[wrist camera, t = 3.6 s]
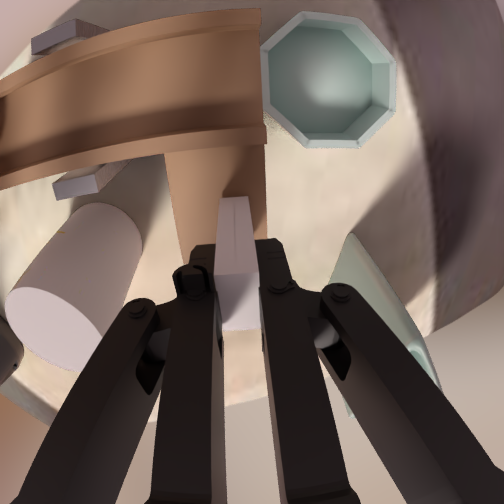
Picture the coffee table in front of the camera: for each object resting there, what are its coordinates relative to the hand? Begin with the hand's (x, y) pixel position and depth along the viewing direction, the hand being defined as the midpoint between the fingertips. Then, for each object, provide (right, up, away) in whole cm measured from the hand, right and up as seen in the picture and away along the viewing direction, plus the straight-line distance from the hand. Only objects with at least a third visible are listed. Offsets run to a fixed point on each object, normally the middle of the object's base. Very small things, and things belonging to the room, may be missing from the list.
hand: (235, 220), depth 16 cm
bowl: (+6, +12, +4) cm, 14 cm away
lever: (-9, +3, -1) cm, 9 cm away
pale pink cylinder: (-13, -1, +10) cm, 17 cm away
